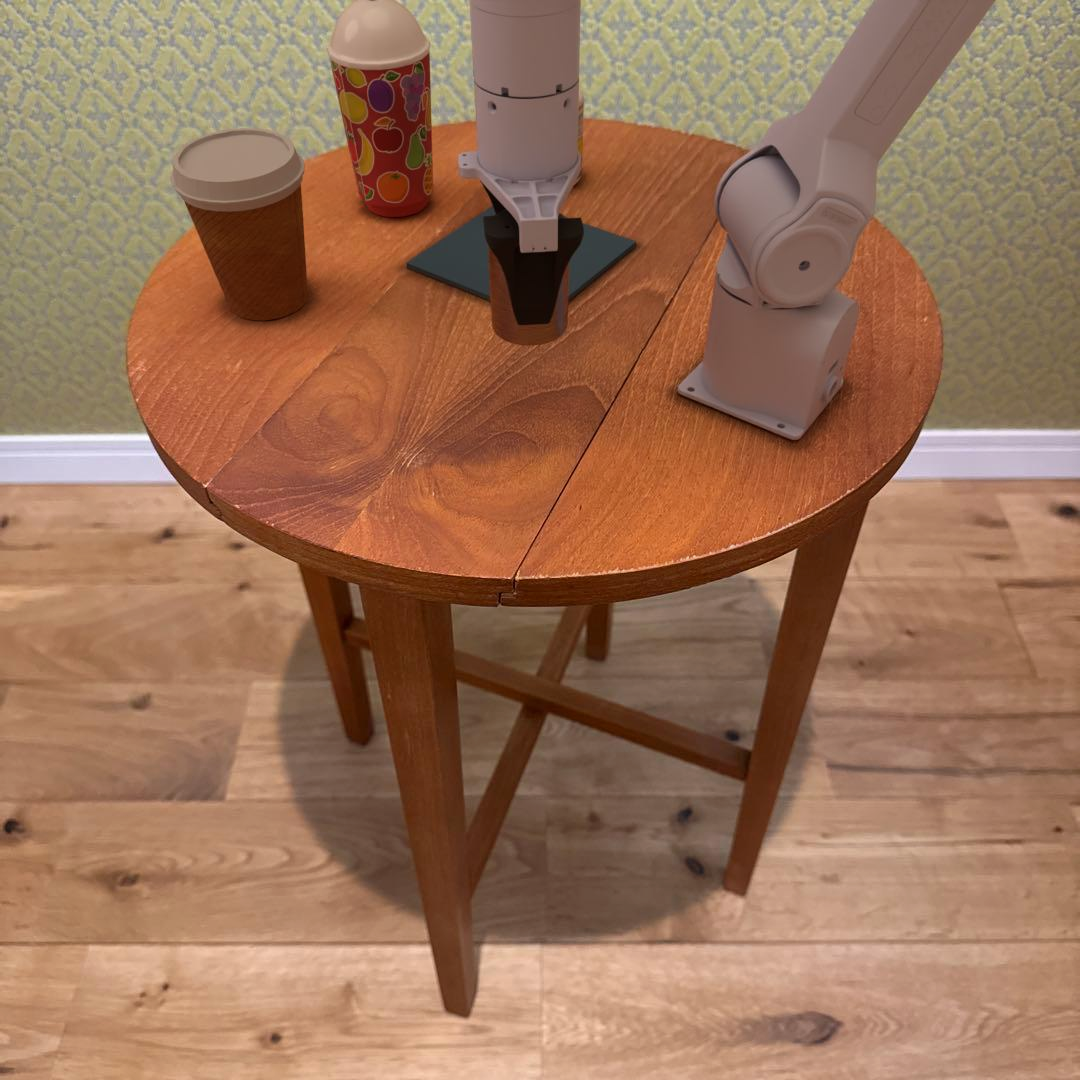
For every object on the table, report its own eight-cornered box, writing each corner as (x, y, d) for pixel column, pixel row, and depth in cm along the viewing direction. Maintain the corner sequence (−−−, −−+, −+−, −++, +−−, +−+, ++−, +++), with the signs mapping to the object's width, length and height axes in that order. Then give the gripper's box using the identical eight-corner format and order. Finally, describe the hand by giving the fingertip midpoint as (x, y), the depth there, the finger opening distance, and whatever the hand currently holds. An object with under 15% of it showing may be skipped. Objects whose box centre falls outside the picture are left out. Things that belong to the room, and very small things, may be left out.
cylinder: (582, 318, 64) (585, 219, 59) (539, 355, 61) (538, 255, 56) (520, 294, 66) (518, 197, 61) (476, 329, 63) (470, 230, 58)
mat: (636, 246, 84) (636, 241, 83) (542, 322, 76) (542, 316, 75) (506, 201, 89) (506, 196, 89) (406, 267, 81) (406, 262, 81)
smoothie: (393, 173, 93) (365, -64, 79) (461, 197, 90) (444, -46, 75) (332, 208, 88) (290, -37, 74) (401, 235, 85) (371, -17, 71)
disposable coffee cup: (184, 301, 78) (139, 155, 69) (281, 255, 83) (250, 114, 74) (255, 348, 74) (216, 199, 65) (352, 297, 78) (328, 151, 70)
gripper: (448, 31, 57) (463, 241, 67) (456, 139, 47) (472, 367, 57) (567, 27, 57) (564, 236, 67) (600, 133, 48) (591, 360, 57)
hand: (529, 296), depth 62 cm, fingers closed on cylinder, 5 cm apart
